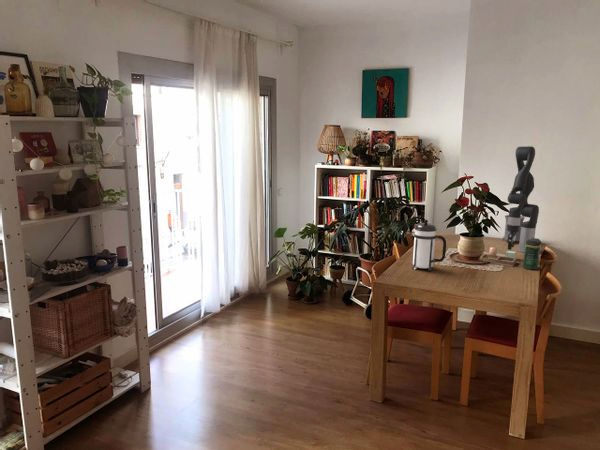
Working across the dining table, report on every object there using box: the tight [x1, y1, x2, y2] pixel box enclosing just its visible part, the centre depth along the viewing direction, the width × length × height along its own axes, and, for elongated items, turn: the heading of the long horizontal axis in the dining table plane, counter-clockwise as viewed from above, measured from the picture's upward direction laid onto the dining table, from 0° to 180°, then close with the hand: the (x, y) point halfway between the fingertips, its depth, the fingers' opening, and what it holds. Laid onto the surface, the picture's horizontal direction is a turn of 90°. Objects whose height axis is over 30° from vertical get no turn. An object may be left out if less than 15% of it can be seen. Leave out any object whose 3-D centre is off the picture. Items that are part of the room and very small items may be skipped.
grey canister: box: [501, 214, 526, 242], centre depth 362 cm, size 19×15×25 cm
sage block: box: [505, 250, 517, 259], centre depth 316 cm, size 5×5×5 cm
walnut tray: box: [479, 253, 517, 268], centre depth 309 cm, size 11×20×3 cm, turn 57°
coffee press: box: [411, 219, 447, 272], centre depth 289 cm, size 17×16×30 cm
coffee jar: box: [522, 237, 542, 271], centre depth 295 cm, size 10×8×19 cm
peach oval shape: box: [488, 246, 498, 256], centre depth 321 cm, size 5×5×6 cm
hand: (510, 248), depth 315 cm, fingers open, 8 cm apart
